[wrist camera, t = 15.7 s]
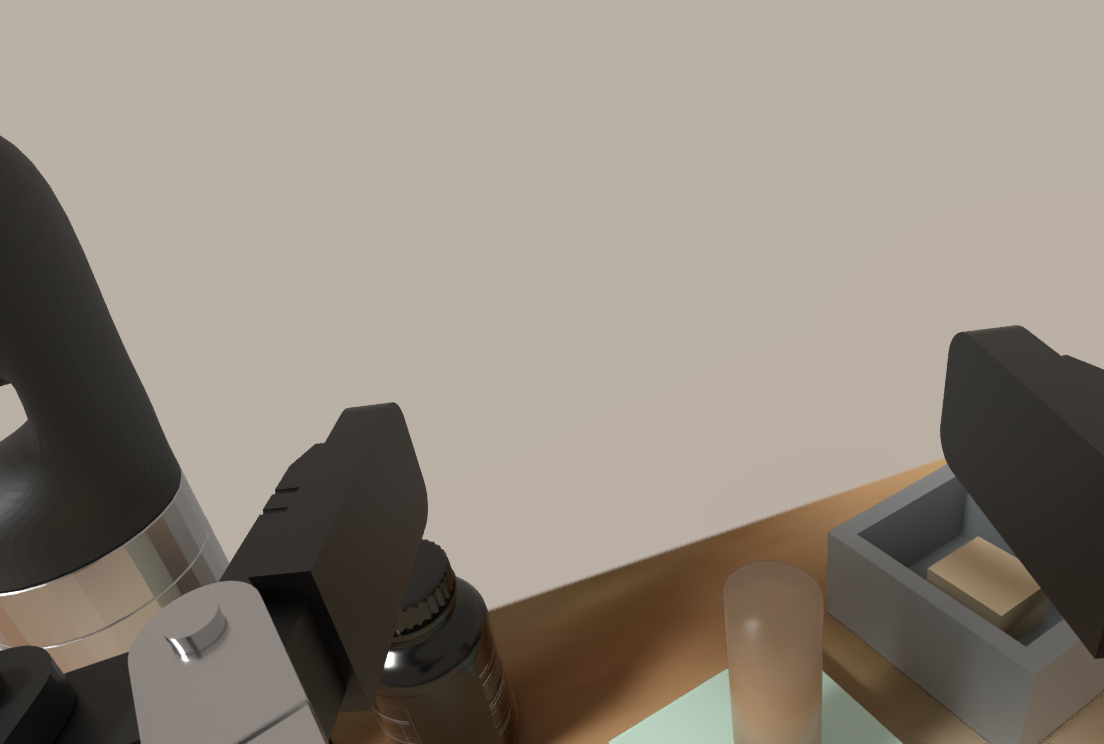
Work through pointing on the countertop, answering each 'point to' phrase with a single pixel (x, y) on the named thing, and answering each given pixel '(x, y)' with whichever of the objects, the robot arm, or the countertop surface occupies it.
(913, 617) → the storage box
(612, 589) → the countertop surface
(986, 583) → the block
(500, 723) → the supplement bottle
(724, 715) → the peg on green base
